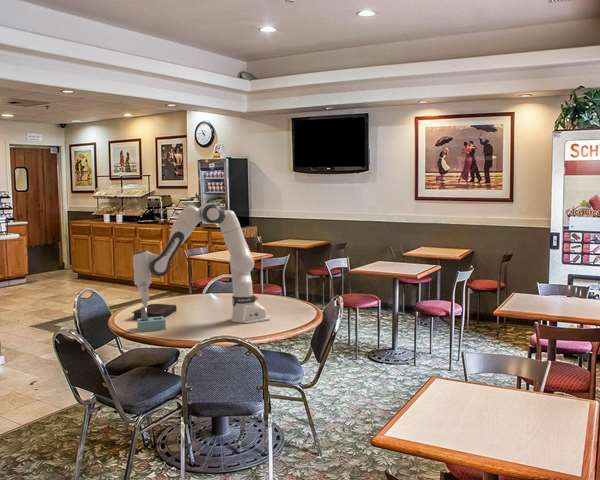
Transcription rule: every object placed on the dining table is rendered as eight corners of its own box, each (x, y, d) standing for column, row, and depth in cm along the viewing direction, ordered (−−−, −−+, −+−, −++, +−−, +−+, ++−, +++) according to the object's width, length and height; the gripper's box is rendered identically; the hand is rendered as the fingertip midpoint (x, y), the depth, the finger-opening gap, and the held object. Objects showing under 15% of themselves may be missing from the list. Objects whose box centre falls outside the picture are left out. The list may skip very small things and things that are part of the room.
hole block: (163, 325, 319) (163, 316, 319) (165, 329, 310) (165, 320, 309) (137, 327, 315) (137, 318, 314) (138, 331, 305) (138, 322, 305)
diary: (177, 312, 355) (176, 304, 354) (160, 321, 330) (160, 313, 330) (148, 311, 358) (148, 303, 357) (130, 320, 333) (130, 312, 333)
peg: (147, 328, 313) (146, 306, 312) (147, 329, 310) (146, 307, 309) (141, 328, 312) (140, 307, 311) (142, 330, 309) (141, 308, 308)
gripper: (150, 282, 300) (152, 308, 301) (147, 277, 319) (149, 301, 320) (138, 284, 298) (140, 310, 299) (135, 278, 317) (137, 303, 318)
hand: (144, 305), depth 310 cm, fingers open, 8 cm apart
